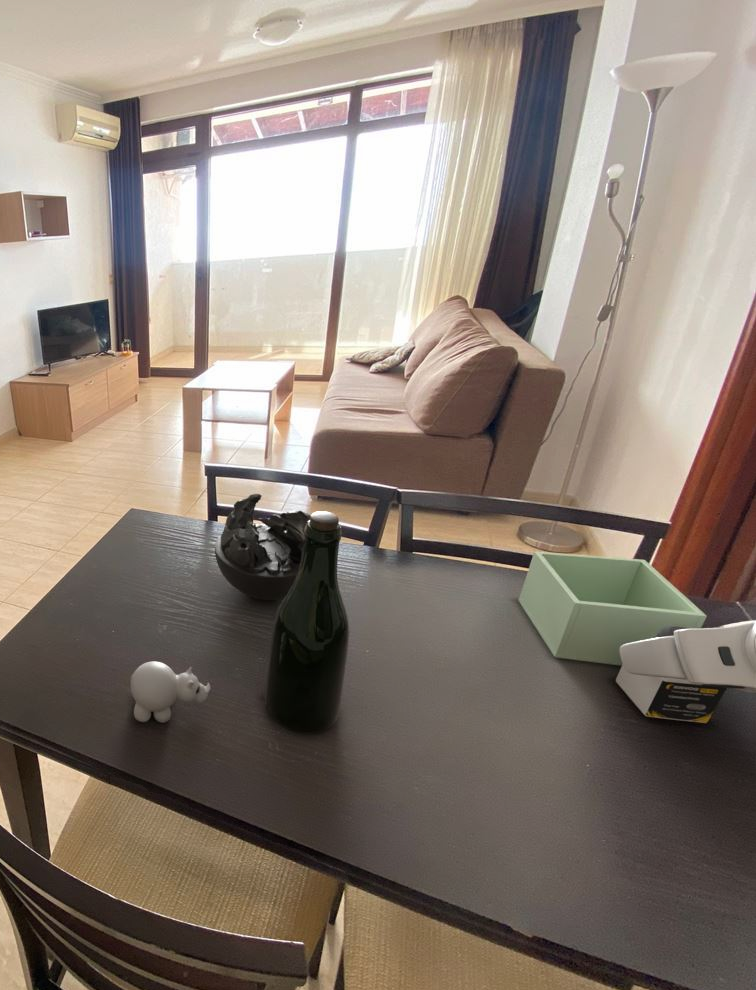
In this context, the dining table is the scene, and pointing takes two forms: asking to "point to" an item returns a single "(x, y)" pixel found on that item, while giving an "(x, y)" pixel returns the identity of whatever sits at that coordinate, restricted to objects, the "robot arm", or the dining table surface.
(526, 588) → the open storage box
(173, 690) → the chubby cartoon animal
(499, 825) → the dining table surface
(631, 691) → the medicine bottle
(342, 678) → the beer bottle
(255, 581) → the coal bowl
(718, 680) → the robot arm
